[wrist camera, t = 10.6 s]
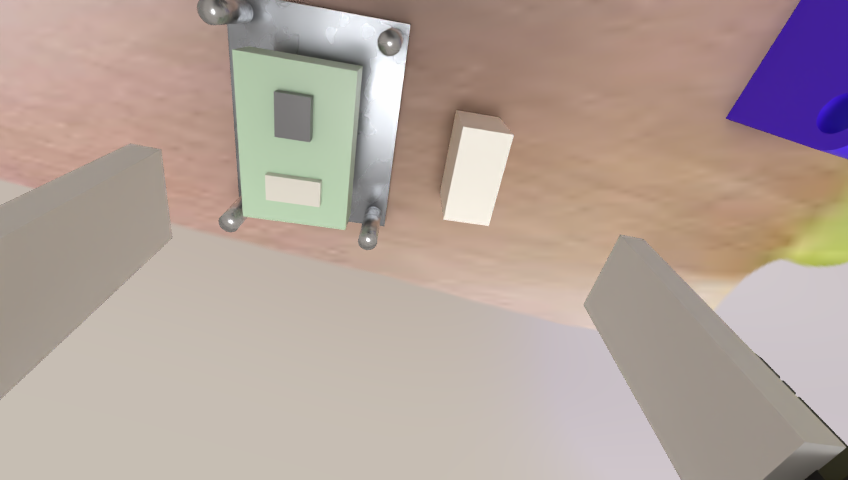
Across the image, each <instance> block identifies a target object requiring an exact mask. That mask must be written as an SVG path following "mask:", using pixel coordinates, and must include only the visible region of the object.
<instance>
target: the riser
mask: <svg viewBox="0 0 848 480" xmlns="http://www.w3.org/2000/svg"><path fill="white" fill-rule="evenodd" d="M513 136H514V135H513V133H512V132H511V131H510V130H509V128H508V127H507V126H506V125H505V123H504V122H503V121H502V120H501V118H500V117H495V116H489V115H483V114H477V113H471V112H465V111H459V110H456V113H455V118H454V124H453V129H452V134H451V139H450V144H449V149H448V154H447V159H446V164H445V169H444V174H443V179H442V184H441V189H440V197H441V204H442V212H443V219H444V220H451V221H458V222H465V223H472V224H479V225H486V226H489V223H490V219H491V216H492V212H493V209H494V205H495V201H496V198H497V194H498V191H499V187H500V183H501V180H502V176H503V172H504V169H505V165H506V162H507V158H508V154H509V151H510V147H511V143H512V140H513Z"/></svg>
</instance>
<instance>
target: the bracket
mask: <svg viewBox="0 0 848 480" xmlns="http://www.w3.org/2000/svg"><path fill="white" fill-rule="evenodd" d="M726 119H729V120H732V121H735V122H738V123H741V124H744V125H747V126H750V127H752V128H755V129H758V130H761V131H764V132H767V133H770V134H773V135H776V136H779V137H782V138H785V139H788V140H791V141H794V142H797V143H799V144H802V145H805V146H808V147H811V148H814V149H817V150H820V151H824V152H827V153H830V154H833V155H836V156H839V157H843V158H846V159H848V0H801V1H800V2H799V4H798V5H797V7H796V9H795V10H794V12H793V13H792V15H791V16H790V18H789V20H788V21H787V23H786V24H785V26H784V28H783V29H782V31H781V32H780V34H779V35H778V37H777V39H776V40H775V42H774V43H773V45H772V46H771V48H770V50H769V51H768V53H767V54H766V56H765V57H764V59H763V61H762V62H761V64H760V65H759V67H758V68H757V70H756V72H755V73H754V75H753V76H752V78H751V79H750V81H749V83H748V84H747V86H746V87H745V89H744V90H743V92H742V94H741V95H740V97H739V98H738V100H737V101H736V103H735V105H734V106H733V108H732V109H731V111H730V112H729V114H728V116H727V117H726Z"/></svg>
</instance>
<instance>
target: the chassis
mask: <svg viewBox="0 0 848 480" xmlns="http://www.w3.org/2000/svg"><path fill="white" fill-rule="evenodd" d="M197 9H198V13H199V15H200V17H201V18H202V20H203V21H204V22H206V23H207V24H210V25H224V24H227V27H228V41H229V56H230V70H231V85H232V100H233V114H234V129H235V143H236V158H237V172H238V187H239V198H238V199H237V200H236V201H235V202H234V203H233V205H232V206H231V207H230V208H229V209H228V210H227V211H226V212H225V213H224V214H223V215H222V216H221V217H220V218H219V225H220V227H221V228H222V229H223V230H225V231H227V232H234V231H236V230H237V229H238V228H239V226H240V225H241V224H242V223H243V222H244V220H245V219H246V218H247V217H245V216H243V209H242V194H241V179H240V164H239V148H238V133H237V118H236V102H235V87H234V72H233V56H232V50H233V49H238V48H243V47H248V46H251V47H256V48H262V49H268V50H274V51H279V52H285V53H291V54H296V55H302V56H308V57H314V58H319V59H325V60H331V61H337V62H342V63H348V64H354V65H360V66H363V69H362V81H361V93H360V105H359V118H358V130H357V142H356V154H355V166H354V178H353V190H352V203H351V214H350V217H349V220H348V221H349V222H356V223H362V227H361V231H360V235H359V239H358V243H359V246H360V247H361V248H363V249H365V250H371V249H373V248H374V247H375V246H376V244H377V239H378V233H379V227H380V226H384V224H385V216H386V209H387V201H388V193H389V186H390V178H391V170H392V163H393V155H394V148H395V140H396V132H397V125H398V117H399V109H400V102H401V94H402V86H403V79H404V71H405V63H406V56H407V48H408V40H409V33H410V25H411V24H406V23H401V22H396V21H390V20H385V19H380V18H374V17H369V16H364V15H358V14H353V13H348V12H342V11H337V10H331V9H326V8H321V7H315V6H310V5H305V4H299V3H294V2H289V1H283V0H199V2H198V5H197Z"/></svg>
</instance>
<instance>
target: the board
mask: <svg viewBox="0 0 848 480" xmlns="http://www.w3.org/2000/svg"><path fill="white" fill-rule="evenodd" d="M232 56H233V72H234V87H235V102H236V118H237V133H238V148H239V164H240V179H241V194H242V209H243V216H245V217H252V218H260V219H267V220H275V221H282V222H290V223H297V224H305V225H312V226H319V227H327V228H334V229H342V230H345V229H346V226H347V223H348V220H349V217H350V214H351V203H352V190H353V178H354V166H355V154H356V142H357V130H358V118H359V105H360V93H361V81H362V69H363V66H360V65H354V64H348V63H342V62H337V61H331V60H325V59H319V58H314V57H308V56H302V55H296V54H291V53H285V52H279V51H274V50H268V49H262V48H256V47H251V46H248V47H243V48H238V49H233V50H232Z"/></svg>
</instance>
